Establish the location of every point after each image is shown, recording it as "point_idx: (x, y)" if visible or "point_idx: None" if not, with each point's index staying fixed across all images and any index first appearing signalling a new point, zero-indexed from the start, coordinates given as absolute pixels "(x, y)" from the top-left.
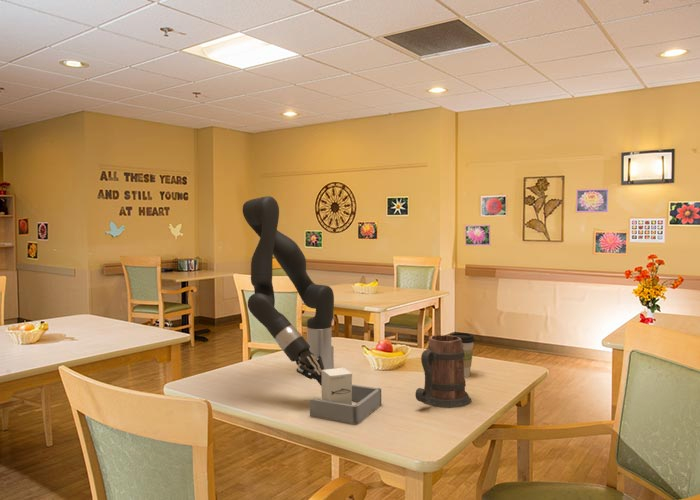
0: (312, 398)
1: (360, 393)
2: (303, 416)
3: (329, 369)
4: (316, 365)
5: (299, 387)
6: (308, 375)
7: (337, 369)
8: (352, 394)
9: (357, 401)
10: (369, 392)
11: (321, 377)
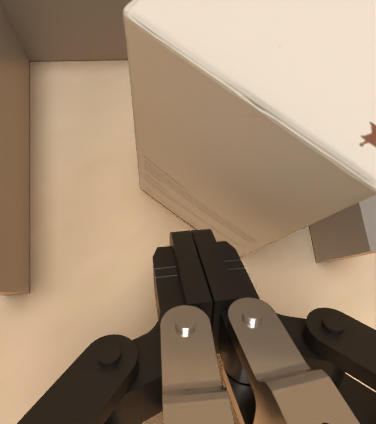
0: (369, 245)
1: (10, 116)
2: (354, 287)
3: (320, 102)
4: (229, 422)
5: None
6: (352, 401)
7: (260, 21)
8: (14, 174)
9: (29, 157)
10: (5, 51)
11: (231, 284)
